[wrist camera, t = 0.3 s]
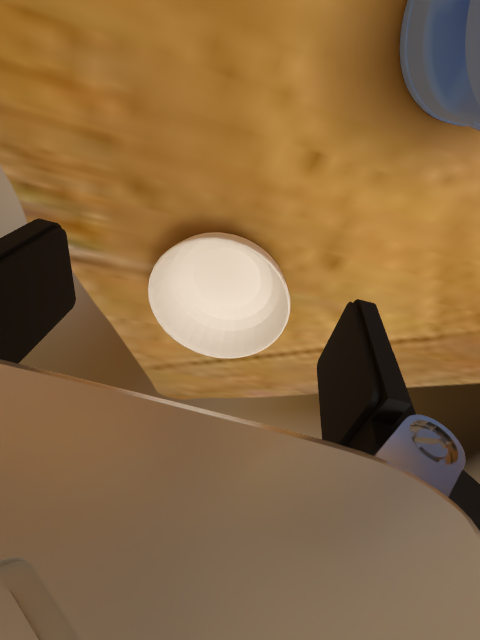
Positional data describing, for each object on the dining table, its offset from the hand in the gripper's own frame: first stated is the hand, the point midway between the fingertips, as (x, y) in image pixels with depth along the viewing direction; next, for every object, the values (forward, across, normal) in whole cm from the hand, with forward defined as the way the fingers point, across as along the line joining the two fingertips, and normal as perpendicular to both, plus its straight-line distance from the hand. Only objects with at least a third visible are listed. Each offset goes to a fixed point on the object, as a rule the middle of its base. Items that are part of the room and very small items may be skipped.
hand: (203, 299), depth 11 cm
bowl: (+31, +1, +18) cm, 36 cm away
